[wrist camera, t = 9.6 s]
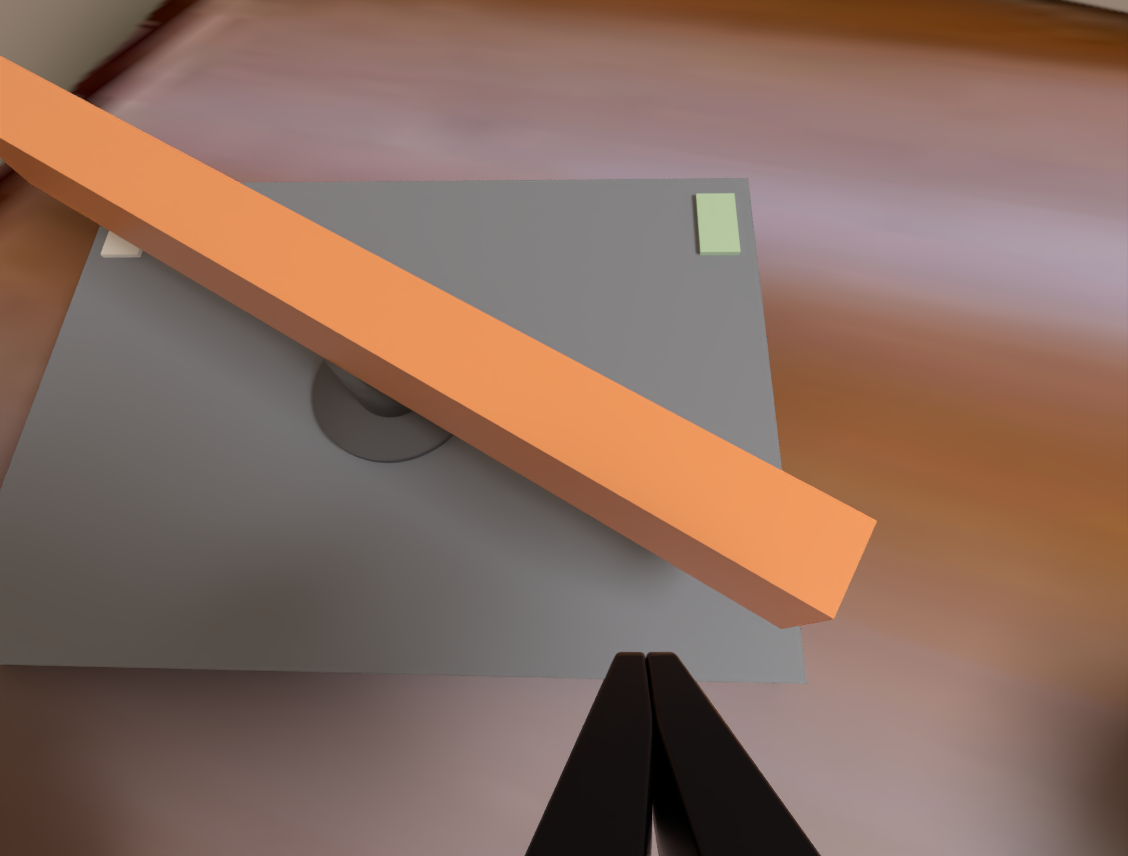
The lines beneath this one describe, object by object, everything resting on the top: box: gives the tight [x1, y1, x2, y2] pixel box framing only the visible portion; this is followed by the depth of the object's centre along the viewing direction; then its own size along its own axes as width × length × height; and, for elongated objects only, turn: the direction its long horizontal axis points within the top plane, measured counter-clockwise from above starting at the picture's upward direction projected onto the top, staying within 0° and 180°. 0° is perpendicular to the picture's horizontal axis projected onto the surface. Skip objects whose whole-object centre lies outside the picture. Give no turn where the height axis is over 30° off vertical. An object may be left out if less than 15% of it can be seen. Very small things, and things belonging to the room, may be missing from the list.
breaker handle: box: [0, 56, 877, 629], centre depth 19 cm, size 3×30×7 cm, turn 58°
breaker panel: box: [0, 178, 807, 684], centre depth 24 cm, size 20×28×3 cm
